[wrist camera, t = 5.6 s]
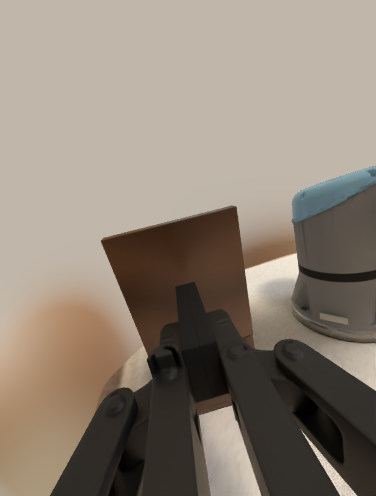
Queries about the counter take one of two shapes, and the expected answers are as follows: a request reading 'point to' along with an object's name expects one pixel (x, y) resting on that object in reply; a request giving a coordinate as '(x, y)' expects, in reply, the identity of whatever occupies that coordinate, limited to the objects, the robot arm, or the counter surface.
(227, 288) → the lid
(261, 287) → the counter surface
